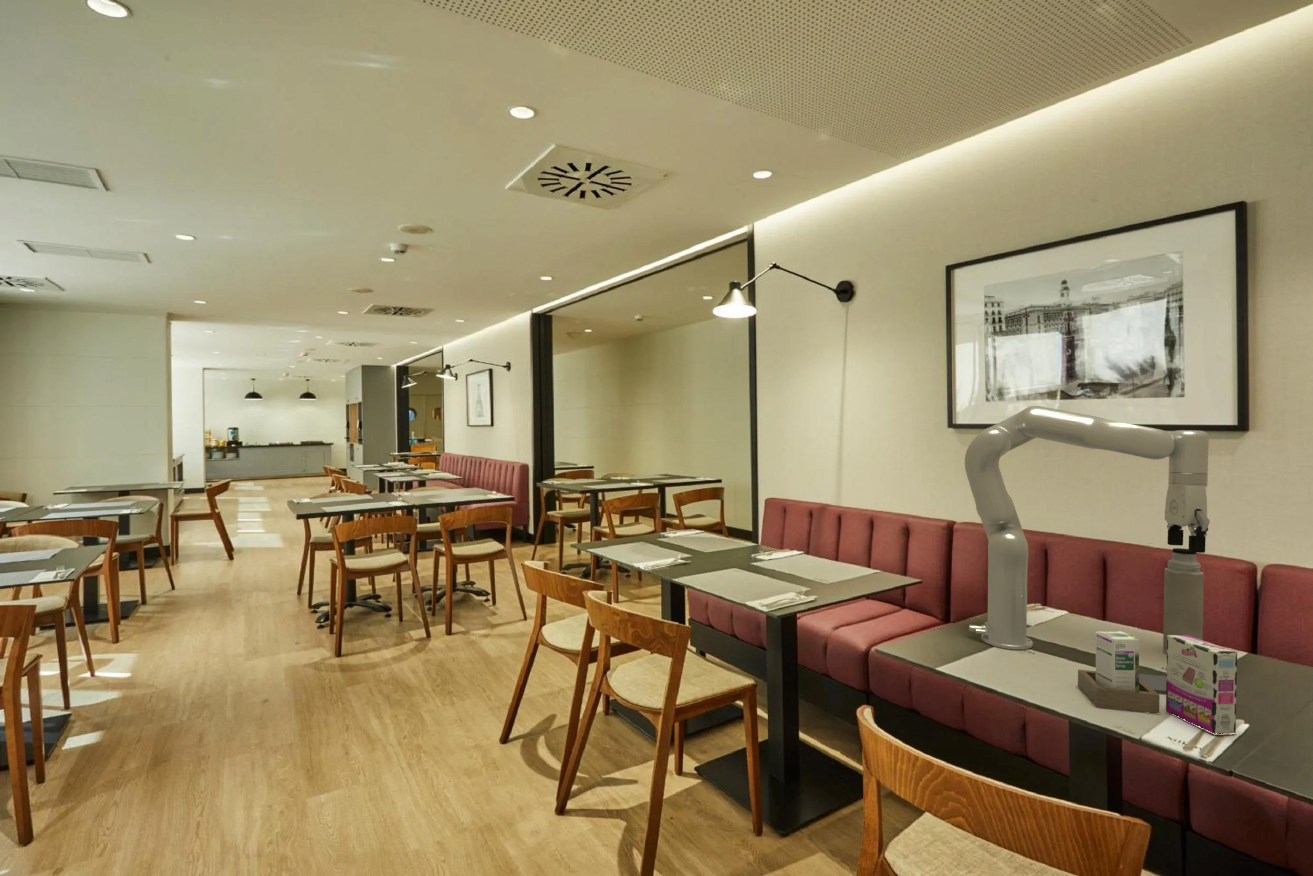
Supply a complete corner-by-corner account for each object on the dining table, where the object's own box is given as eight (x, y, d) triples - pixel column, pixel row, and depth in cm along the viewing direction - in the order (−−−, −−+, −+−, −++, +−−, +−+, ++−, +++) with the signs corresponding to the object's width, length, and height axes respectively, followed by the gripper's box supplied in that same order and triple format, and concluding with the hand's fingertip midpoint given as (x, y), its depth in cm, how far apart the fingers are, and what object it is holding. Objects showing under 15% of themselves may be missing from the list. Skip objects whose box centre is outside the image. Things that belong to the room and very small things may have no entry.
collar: (1096, 707, 138) (1096, 688, 138) (1077, 686, 149) (1078, 669, 149) (1159, 714, 135) (1159, 695, 135) (1135, 692, 146) (1135, 675, 146)
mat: (1143, 692, 146) (1143, 688, 146) (1124, 675, 156) (1124, 672, 156) (1195, 697, 144) (1195, 693, 143) (1173, 680, 153) (1173, 677, 153)
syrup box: (1113, 705, 139) (1114, 638, 139) (1094, 694, 145) (1095, 630, 145) (1139, 705, 139) (1140, 638, 139) (1119, 694, 145) (1120, 630, 145)
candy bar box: (1238, 735, 126) (1239, 651, 125) (1214, 736, 125) (1215, 652, 125) (1186, 710, 137) (1187, 633, 137) (1164, 711, 136) (1165, 634, 136)
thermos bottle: (1157, 648, 175) (1159, 545, 174) (1193, 652, 172) (1195, 547, 172) (1170, 658, 167) (1172, 550, 167) (1208, 662, 165) (1210, 553, 164)
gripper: (1152, 476, 170) (1150, 541, 170) (1189, 482, 153) (1187, 554, 154) (1186, 477, 168) (1184, 543, 169) (1226, 483, 151) (1224, 556, 152)
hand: (1185, 548), depth 161 cm, fingers open, 9 cm apart
